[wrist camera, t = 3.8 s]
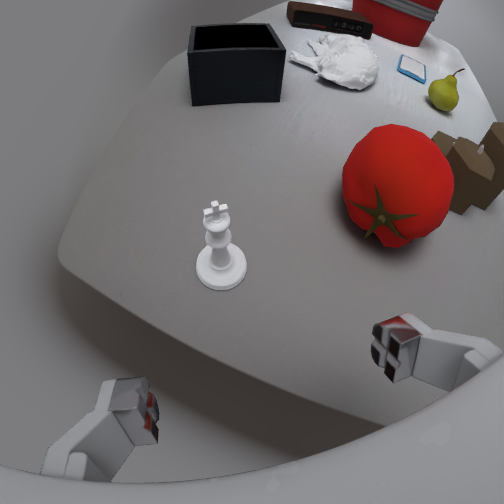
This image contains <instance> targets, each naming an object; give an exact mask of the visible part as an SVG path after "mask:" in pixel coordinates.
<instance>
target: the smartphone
mask: <svg viewBox="0 0 504 504" xmlns="http://www.w3.org/2000/svg"><path fill="white" fill-rule="evenodd" d="M398 70H399V71H400V72H402V73H405V74H407V75H409V76H411V77H413V78H415V79H417V80H419V81H420V82H423V83H425V82H426V66H425V65H423V64H421V63H419V62H417V61H415V60H413V59H411V58H409V57H407V56H405V55H401V57H400V61H399V65H398Z"/></svg>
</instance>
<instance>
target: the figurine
mask: <svg viewBox="0 0 504 504" xmlns="http://www.w3.org/2000/svg"><path fill="white" fill-rule="evenodd" d="M319 40H320V42H321V43H322V44H320V43H316V42H314V41H312V40H308V44H309V45H310V46H312V47H313V49H314V51H315V52H316V54H317V55H318V56H317V57H305V56H302V55H301V54H299V53H298V52H296V51H292V54H291V55H290V56H289V58H290V59H291V60H293V61H295V62H298V63H300V64H303V65H306V66H308V67H310V68H312V69H313V70H314V71H317V72H318V73H317V74H315V75H314V76H317V75H318V76H320V77H323V78H325V79H328V80H331V81H333V82H335V83H337V84H339V85H341V86H346V87H348V88H350V89H354V88H356V89H358V90H361V89H362V88H365V87H367V86H369V85H371V84H372V83H374V80H375V77H376V76H377V75H378V71H379V65H378V58H377V57H376V54H375V52H374V51H372V49H371V48H370V47H369V44H366V43H365V42H364V41H363V40H364V39H363V38H362V37H358V38H357V37H355V36H352V35H348V34H340V35H339V34H333V33H329V34H327V35H326V36H322V35H320V38H319Z"/></svg>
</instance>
